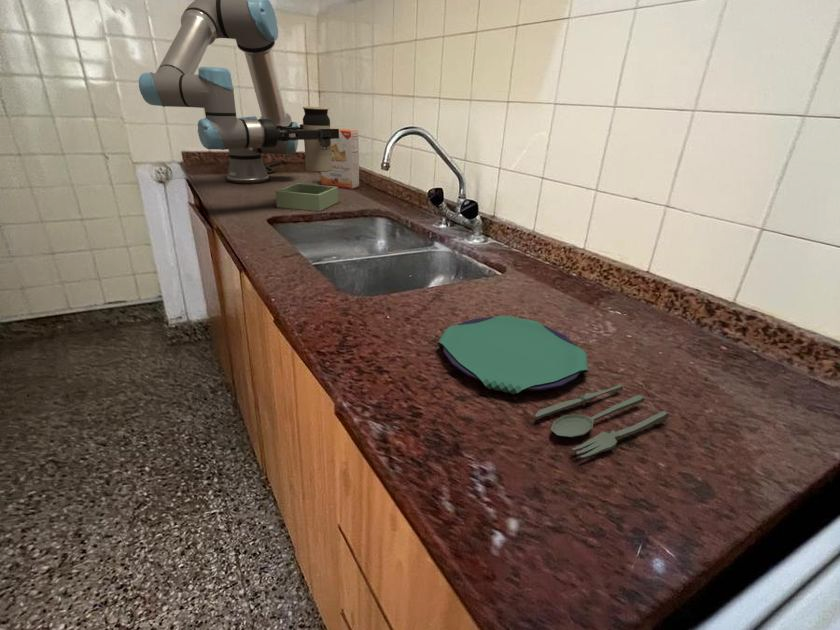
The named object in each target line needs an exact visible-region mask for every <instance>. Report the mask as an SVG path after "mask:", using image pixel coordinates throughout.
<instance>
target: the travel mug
mask: <svg viewBox="0 0 840 630" xmlns="http://www.w3.org/2000/svg"><path fill="white" fill-rule="evenodd" d="M302 109H303V112H304V115H303V117H302V124H303V129H306V130H318V129H330V128H331V119H330V117H329V115H328V113H329V112H328V111H329V107H326V106H302ZM303 143H304V145H303V146H304V160H305V161H304V162H305V170H307V171H308V172H312V173H321V172H328V171H330V170H332V157H331V139H322V140H321V142H319V140H303Z"/></svg>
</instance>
